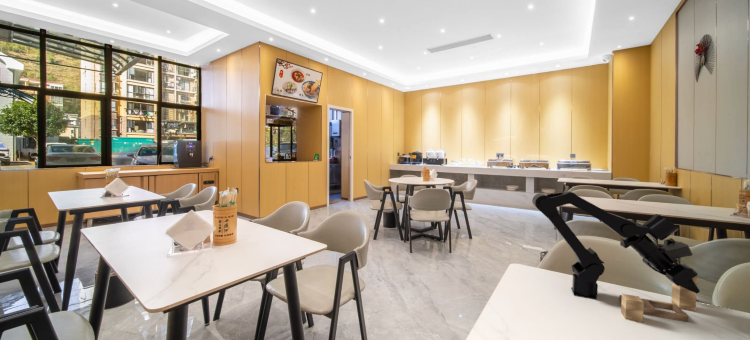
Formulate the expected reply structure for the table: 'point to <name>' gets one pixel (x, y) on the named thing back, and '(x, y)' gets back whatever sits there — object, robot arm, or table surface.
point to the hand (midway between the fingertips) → (689, 287)
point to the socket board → (651, 310)
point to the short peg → (632, 307)
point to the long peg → (684, 297)
